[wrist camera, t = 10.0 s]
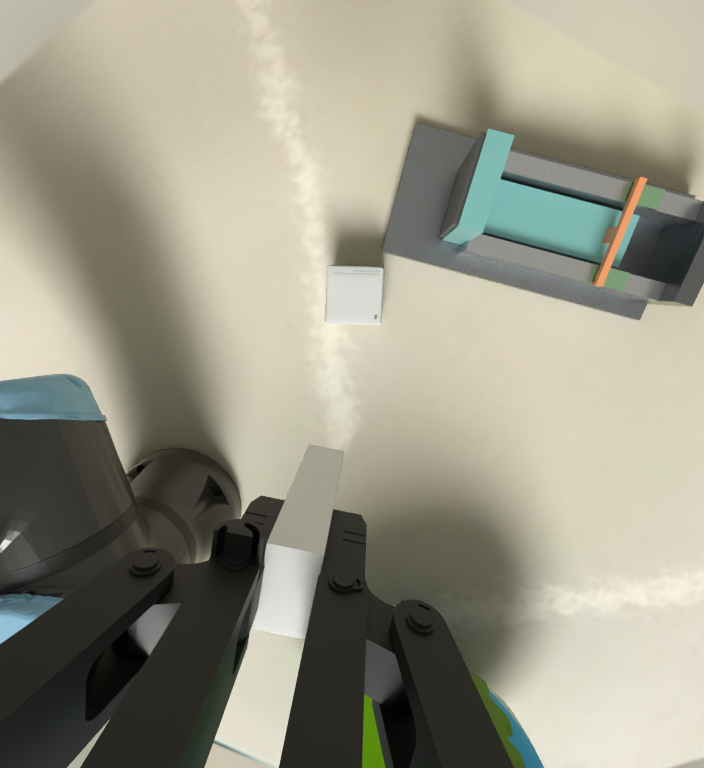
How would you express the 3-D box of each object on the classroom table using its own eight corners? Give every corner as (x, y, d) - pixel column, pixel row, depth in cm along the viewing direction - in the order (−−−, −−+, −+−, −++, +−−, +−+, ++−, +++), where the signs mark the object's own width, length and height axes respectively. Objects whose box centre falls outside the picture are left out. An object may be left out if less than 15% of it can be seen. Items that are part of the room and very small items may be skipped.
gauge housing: (381, 251, 41) (381, 245, 34) (415, 127, 38) (421, 92, 31) (633, 319, 41) (682, 325, 34) (687, 198, 38) (753, 178, 31)
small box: (385, 269, 42) (384, 266, 37) (381, 323, 43) (381, 327, 38) (332, 267, 42) (325, 264, 37) (330, 320, 44) (323, 324, 39)
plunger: (435, 249, 40) (449, 238, 31) (464, 153, 37) (487, 112, 29) (593, 291, 39) (651, 292, 31) (631, 197, 37) (707, 168, 28)
